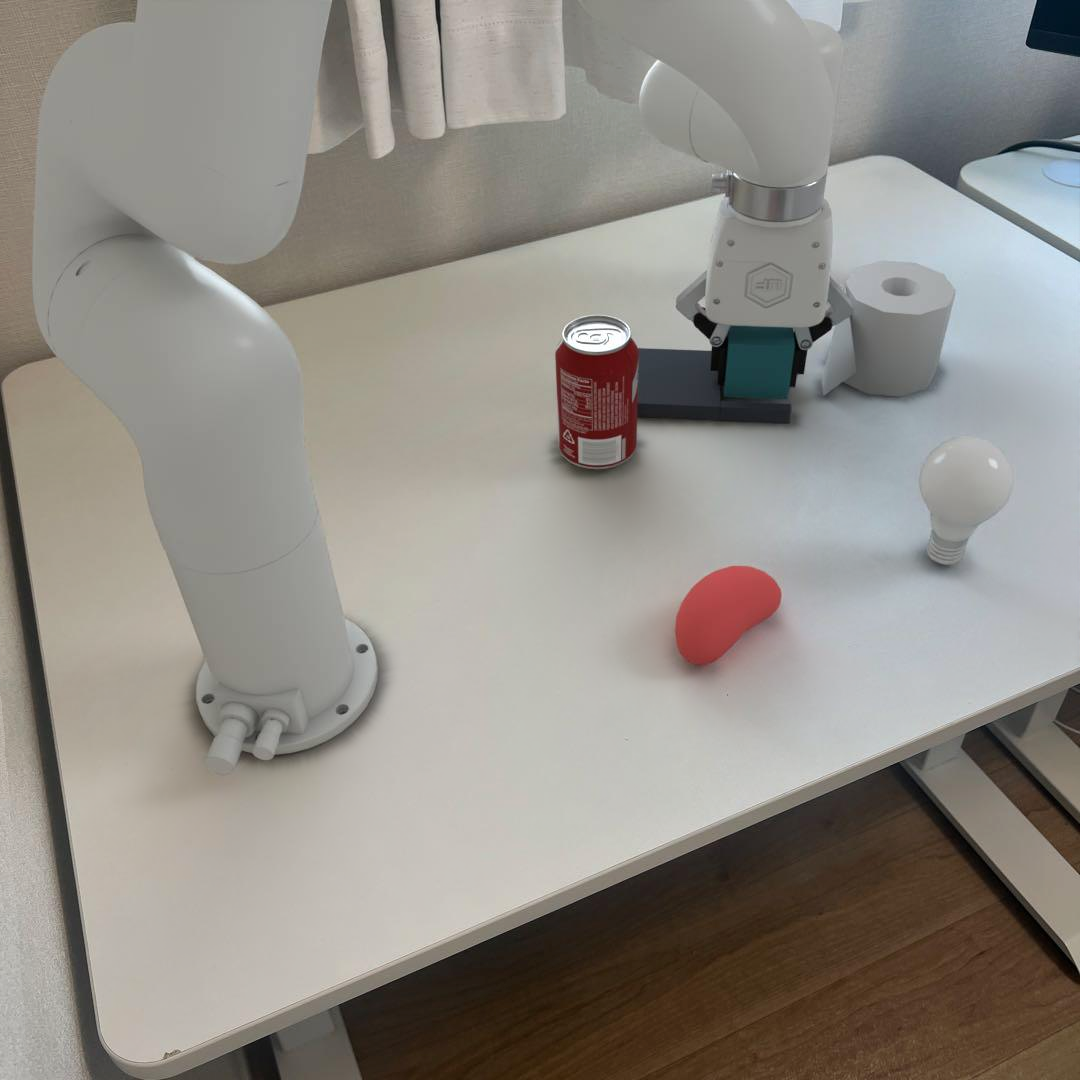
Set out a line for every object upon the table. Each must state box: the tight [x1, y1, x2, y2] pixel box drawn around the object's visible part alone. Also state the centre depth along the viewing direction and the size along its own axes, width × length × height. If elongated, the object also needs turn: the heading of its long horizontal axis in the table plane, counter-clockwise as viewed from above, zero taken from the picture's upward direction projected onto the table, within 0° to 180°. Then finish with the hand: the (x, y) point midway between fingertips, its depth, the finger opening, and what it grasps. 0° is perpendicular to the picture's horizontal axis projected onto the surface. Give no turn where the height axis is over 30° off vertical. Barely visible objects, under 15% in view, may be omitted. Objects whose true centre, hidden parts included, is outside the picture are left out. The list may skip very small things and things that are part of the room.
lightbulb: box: [918, 435, 1015, 566], centre depth 81 cm, size 6×6×11 cm
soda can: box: [554, 314, 639, 470], centre depth 92 cm, size 7×7×12 cm
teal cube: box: [723, 326, 795, 401], centre depth 99 cm, size 6×6×6 cm
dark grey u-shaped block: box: [637, 347, 792, 424], centre depth 102 cm, size 9×18×2 cm, turn 83°
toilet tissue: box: [821, 260, 957, 398], centre depth 100 cm, size 9×13×9 cm
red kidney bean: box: [674, 565, 782, 666], centre depth 79 cm, size 5×9×6 cm, turn 122°
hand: (755, 375), depth 100 cm, fingers closed on teal cube, 5 cm apart
